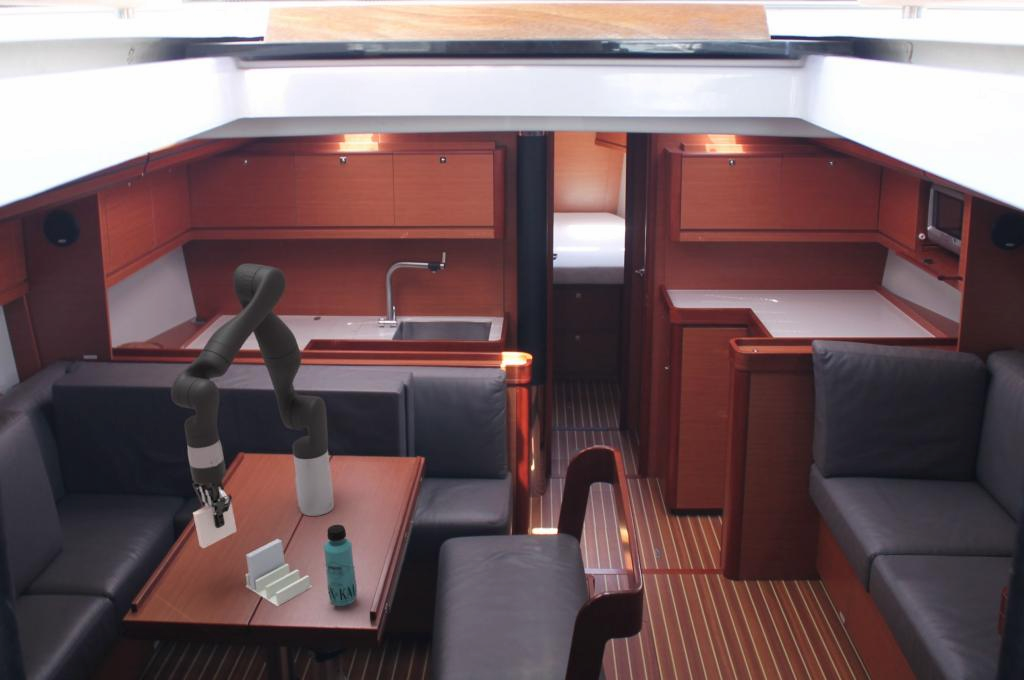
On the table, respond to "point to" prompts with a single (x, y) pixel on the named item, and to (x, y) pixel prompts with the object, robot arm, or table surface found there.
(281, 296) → the robot arm
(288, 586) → the rack
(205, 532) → the plate
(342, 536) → the beverage bottle
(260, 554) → the plate
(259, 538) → the table surface
